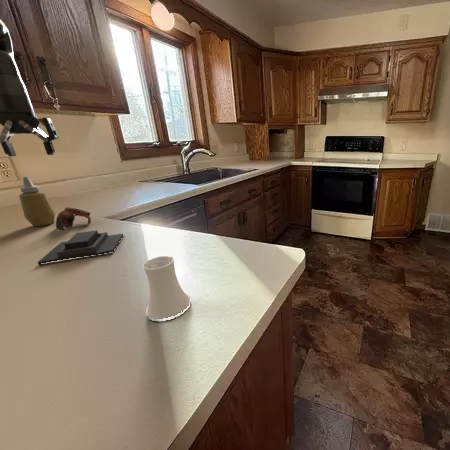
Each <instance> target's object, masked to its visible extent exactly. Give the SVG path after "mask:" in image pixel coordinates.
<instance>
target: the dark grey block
mask: <svg viewBox="0 0 450 450" xmlns="http://www.w3.org/2000/svg"><path fill="white" fill-rule="evenodd" d="M98 233H99V231H98V229H96V230H89V231H82V232H81V231H80V232H76V233H75V234H74V235H73V236H72V237H71V238H69V239H68V240H66V241H67V242H66V241H65V242H66V243H65V244H64V245H65V248H66V250H69V249H76V248H83V247H90V246H92V245H93V244H94V243H95V241H96V240H97V239H98V238H99V234H98Z"/></svg>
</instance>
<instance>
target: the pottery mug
mask: <svg viewBox="0 0 450 450" xmlns="http://www.w3.org/2000/svg"><path fill="white" fill-rule="evenodd" d="M76 217H84V218H86V219H87V224H88V225H90V224H92V218H91V212H90V211H86V210H83V209H79V208H75V207H71V206H70V207H69V206H66V207H65V208H64V209H63V210H61V211H60V212H58V214H57V215H56V219H55V220H56V221H55V226H56V227H55V228H56V229H57V230H60V231H64V230H65V229H70V228H73V225H74V221H75V220H76ZM64 228H65V229H64Z"/></svg>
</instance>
